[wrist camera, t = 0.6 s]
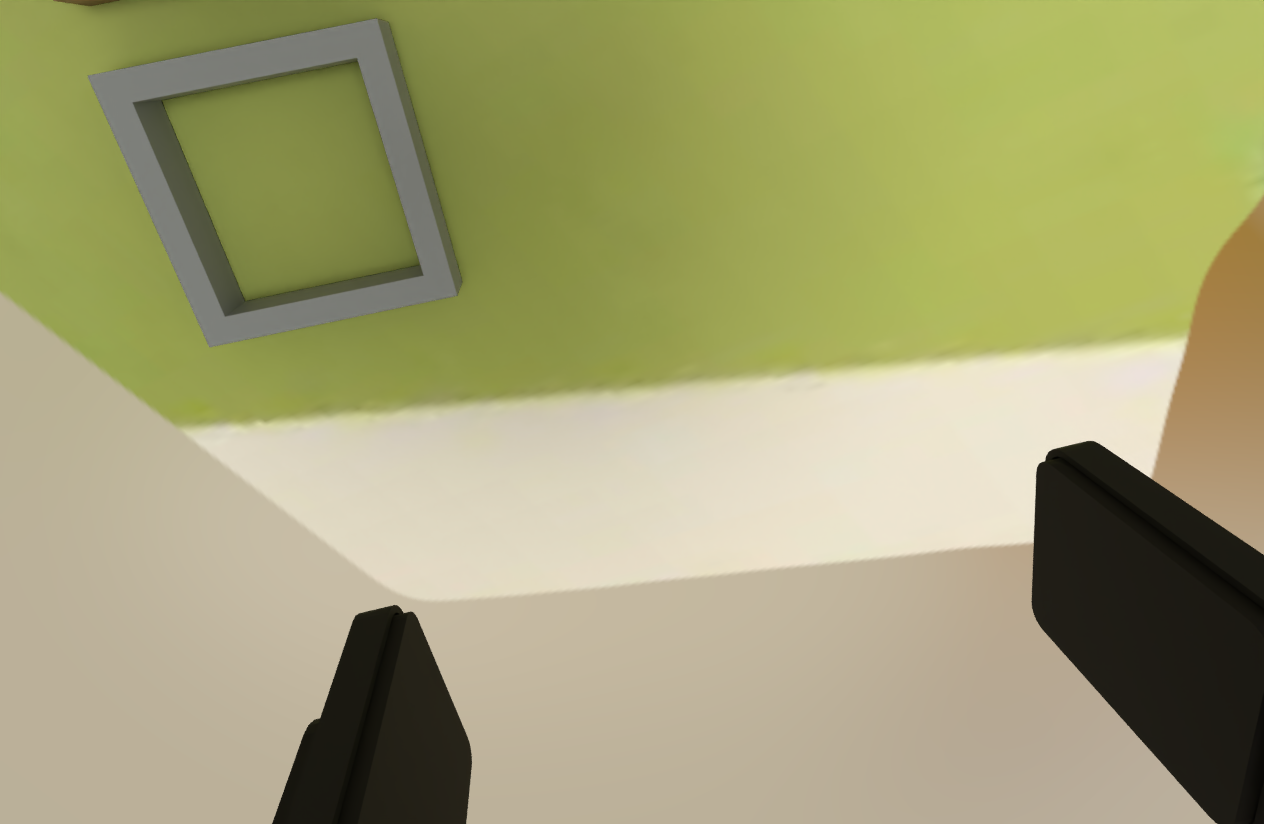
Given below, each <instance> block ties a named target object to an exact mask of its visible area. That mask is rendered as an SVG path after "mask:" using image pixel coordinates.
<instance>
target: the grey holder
mask: <svg viewBox="0 0 1264 824" xmlns="http://www.w3.org/2000/svg"><path fill="white" fill-rule="evenodd" d="M356 61H358V63H359V66H360V70H361V73H362V76H363V79H364V83H365V86H366V89H367V92H368V96H369V99H370V102H371V105H372V109H373V112H374V115H375V118H376V122H377V125H378V128H379V132H380V135H381V138H382V141H383V145H384V148H385V151H386V154H387V158H388V161H389V164H390V167H391V171H392V174H393V177H394V181H395V184H396V187H397V190H398V194H399V197H400V200H401V203H402V207H403V210H404V213H405V216H406V220H407V223H408V226H409V229H410V233H411V236H412V239H413V243H414V246H415V249H416V252H417V256H418V259H419V262H420V265H418V266H413V267H409V268H404V269H399V270H394V271H389V272H384V273H380V274H375V275H370V276H365V277H360V278H355V279H351V280H346V281H341V282H336V283H331V284H326V285H322V286H317V287H312V288H307V289H302V290H297V291H293V292H288V293H283V294H278V295H273V296H268V297H264V298H259V299H254V300H249V301H244V298H243V296H242V293H241V291H240V289H239V286H238V284H237V281H236V279H235V277H234V274H233V272H232V269H231V267H230V265H229V262H228V260H227V257H226V255H225V253H224V250H223V248H222V245H221V243H220V241H219V238H218V236H217V233H216V231H215V229H214V226H213V224H212V221H211V219H210V217H209V214H208V212H207V209H206V207H205V205H204V202H203V200H202V197H201V195H200V193H199V190H198V188H197V185H196V183H195V181H194V178H193V176H192V173H191V171H190V169H189V166H188V164H187V161H186V159H185V157H184V154H183V152H182V149H181V147H180V144H179V142H178V140H177V137H176V135H175V132H174V130H173V128H172V125H171V123H170V120H169V118H168V116H167V113H166V111H165V108H164V106H163V104H162V101H161V100H165V99H170V98H175V97H180V96H185V95H190V94H195V93H200V92H205V91H210V90H215V89H220V88H225V87H230V86H235V85H240V84H245V83H250V82H255V81H260V80H265V79H270V78H275V77H280V76H285V75H290V74H295V73H300V72H305V71H310V70H315V69H320V68H325V67H330V66H335V65H341V64H346V63H351V62H356ZM88 78H89V81H90V83H91V85H92V87H93V89H94V92H95V94H96V96H97V98H98V101H99V103H100V105H101V107H102V109H103V112H104V114H105V116H106V118H107V121H108V123H109V125H110V127H111V129H112V132H113V134H114V136H115V138H116V141H117V143H118V145H119V147H120V149H121V152H122V154H123V156H124V158H125V161H126V163H127V165H128V167H129V169H130V172H131V174H132V176H133V178H134V181H135V183H136V185H137V187H138V190H139V192H140V194H141V196H142V198H143V201H144V203H145V205H146V207H147V210H148V212H149V214H150V216H151V218H152V221H153V223H154V225H155V227H156V230H157V232H158V234H159V236H160V238H161V241H162V243H163V245H164V247H165V250H166V252H167V254H168V256H169V258H170V261H171V263H172V265H173V267H174V270H175V272H176V274H177V276H178V279H179V281H180V283H181V285H182V287H183V290H184V292H185V294H186V296H187V299H188V301H189V303H190V305H191V307H192V310H193V312H194V314H195V316H196V319H197V321H198V323H199V325H200V327H201V330H202V332H203V334H204V336H205V339H206V341H207V343H208V345H209V347H213V346H218V345H223V344H228V343H232V342H237V341H242V340H247V339H252V338H256V337H261V336H266V335H271V334H276V333H280V332H285V331H290V330H295V329H300V328H304V327H309V326H314V325H319V324H324V323H328V322H333V321H338V320H343V319H348V318H352V317H357V316H362V315H367V314H372V313H377V312H381V311H386V310H391V309H396V308H401V307H405V306H410V305H415V304H420V303H425V302H429V301H434V300H439V299H444V298H449V297H453V296H457V295H458V293H459V290H460V287H461V284H462V278H461V275H460V271H459V268H458V264H457V261H456V257H455V254H454V250H453V247H452V243H451V240H450V236H449V233H448V229H447V226H446V222H445V219H444V215H443V212H442V208H441V205H440V201H439V198H438V194H437V191H436V187H435V184H434V180H433V177H432V173H431V170H430V166H429V163H428V159H427V156H426V152H425V149H424V145H423V142H422V138H421V134H420V131H419V127H418V124H417V120H416V117H415V113H414V110H413V106H412V103H411V99H410V96H409V92H408V89H407V85H406V82H405V78H404V75H403V71H402V68H401V64H400V61H399V57H398V54H397V50H396V47H395V43H394V40H393V36H392V33H391V29H390V26H389V22H386V21H383V20H380V19H377V18H376V19H371V20H366V21H361V22H356V23H351V24H346V25H341V26H336V27H331V28H326V29H321V30H316V31H311V32H306V33H301V34H295V35H290V36H285V37H280V38H275V39H270V40H265V41H260V42H255V43H250V44H245V45H240V46H235V47H230V48H225V49H220V50H215V51H210V52H205V53H200V54H195V55H190V56H184V57H179V58H174V59H169V60H164V61H159V62H154V63H149V64H144V65H139V66H134V67H129V68H124V69H119V70H114V71H109V72H104V73H99V74H94V75H89V76H88Z"/></svg>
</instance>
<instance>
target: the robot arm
mask: <svg viewBox="0 0 1264 824" xmlns="http://www.w3.org/2000/svg"><path fill="white" fill-rule="evenodd" d="M1032 581H1033V582H1032V609H1033V613H1034V615H1035V618H1036V620H1037V622H1038V624H1039V625H1040V627H1041V628H1042V629H1043V630H1044V632H1045V633H1046V634H1047V635H1048V636H1049V637H1050V638H1051V639H1052V641H1053V642H1054V643H1055V644H1056V645H1057V646H1058V647H1059V648H1060V650H1061V651H1062V652H1063V653H1064V654H1065V655H1066V656H1067V657H1068V658H1069V660H1070V661H1071V662H1072V663H1073V664H1074V665H1075V666H1076V667H1077V669H1078V670H1079V671H1080V672H1081V673H1082V674H1083V675H1084V676H1085V678H1086V679H1087V680H1088V681H1089V682H1090V683H1091V684H1092V685H1093V687H1094V688H1095V689H1096V690H1097V691H1098V692H1099V693H1100V694H1101V695H1102V697H1103V698H1104V699H1105V700H1106V701H1107V702H1108V703H1109V705H1110V706H1111V707H1112V708H1113V709H1114V710H1115V711H1116V712H1117V714H1118V715H1119V716H1120V717H1121V718H1122V719H1123V720H1124V721H1125V722H1126V723H1127V725H1128V726H1129V727H1130V728H1131V729H1132V730H1133V731H1134V733H1135V734H1136V735H1137V736H1138V737H1139V738H1140V739H1141V740H1142V742H1143V743H1144V744H1145V745H1146V746H1147V747H1148V748H1149V749H1150V751H1152V753H1153V754H1154V755H1155V756H1156V757H1157V758H1158V759H1159V760H1160V762H1161V763H1162V764H1163V765H1164V766H1165V767H1166V768H1167V770H1168V771H1169V772H1170V773H1171V774H1172V775H1173V776H1174V777H1175V779H1176V780H1177V781H1178V782H1179V783H1180V784H1181V785H1182V786H1183V788H1184V789H1185V790H1186V791H1187V792H1188V793H1189V794H1190V795H1191V796H1192V798H1193V799H1194V800H1195V801H1196V802H1197V803H1198V804H1199V806H1200V807H1201V808H1202V809H1203V810H1204V811H1205V812H1206V813H1207V814H1208V816H1209V817H1210V818H1211V819H1213V820H1214V821H1215V822H1216V823H1217V824H1264V555H1263V554H1261V553H1260V552H1258V551H1257V550H1256V549H1254V548H1253V547H1251V546H1250V545H1248V544H1247V543H1245V542H1244V541H1242V540H1241V539H1239V538H1238V537H1236V536H1235V535H1233V534H1232V533H1230V532H1229V531H1227V530H1226V529H1225V528H1223V527H1222V526H1220V525H1218V524H1217V523H1216V522H1214V521H1213V520H1211V519H1210V518H1208V517H1207V516H1205V515H1204V514H1202V513H1201V512H1199V511H1198V510H1196V509H1195V508H1193V507H1192V506H1191V505H1189V504H1187V503H1186V502H1184V501H1183V500H1182V499H1180V498H1179V497H1177V496H1176V495H1174V494H1173V493H1171V492H1170V491H1168V490H1167V489H1165V488H1164V487H1162V486H1161V485H1159V484H1158V483H1157V482H1155V481H1154V480H1152V479H1151V478H1149V477H1148V476H1146V475H1145V474H1143V473H1142V472H1140V471H1139V470H1137V469H1136V468H1134V467H1133V466H1131V465H1130V464H1128V463H1127V462H1125V461H1124V460H1123V459H1121V458H1120V457H1118V456H1117V455H1115V454H1114V453H1112V452H1111V451H1109V450H1108V449H1106V448H1105V447H1103V446H1102V445H1100V444H1098V443H1096V442H1094V441H1086V442H1082V443H1078V444H1073V445H1069V446H1065V447H1061V448H1057V449H1053V450H1051V451H1049V452H1048V454H1047V456H1046V460H1045V462H1042V463H1040V464H1039V465H1038V467H1037V472H1036V499H1035V526H1034V553H1033V580H1032ZM471 767H472V756H471V748H470V743H469V740H468V737H467V735H466V732H465V730H464V728H463V726H462V723H461V721H460V718H459V716H458V713H457V711H456V709H455V706H454V704H453V702H452V699H451V697H450V695H449V692H448V690H447V687H446V685H445V683H444V680H443V678H442V675H441V673H440V671H439V668H438V666H437V664H436V662H435V659H434V657H433V654H432V652H431V650H430V647H429V645H428V642H427V640H426V637H425V635H424V633H423V630H422V628H421V626H420V623H419V621H418V619H417V617H416V615H415V614H414V613H413V612H407V613H403V611H402V610H401V608H400V607H399V606H397V605H393V606H389V607H384V608H380V609H376V610H372V611H368V612H364V613H359V614H358V615H356V616H355V618H354V620H353V622H352V626H351V629H350V631H349V635H348V637H347V640H346V643H345V646H344V650H343V652H342V655H341V658H340V661H339V664H338V667H337V670H336V673H335V676H334V679H333V682H332V685H331V688H330V691H329V694H328V697H327V700H326V703H325V706H324V709H323V712H322V715H321V718H320V719H316V720H314V721H313V722H311V723H310V724H309V725H308V727H307V729H306V731H305V733H304V735H303V738H302V741H301V744H300V746H299V749H298V752H297V755H296V758H295V761H294V764H293V766H292V769H291V772H290V775H289V778H288V781H287V783H286V786H285V789H284V792H283V795H282V798H281V801H280V803H279V806H278V809H277V812H276V815H275V817H274V820H273V823H272V824H466V819H467V809H468V799H469V787H470V778H471Z"/></svg>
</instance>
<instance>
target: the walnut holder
mask: <svg viewBox="0 0 1264 824" xmlns="http://www.w3.org/2000/svg"><path fill="white" fill-rule="evenodd" d="M54 1H58V2H65V3H72V4H79V5H86V6H93V5H98V4H103V3H108V2H113V1H119V0H54Z"/></svg>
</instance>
